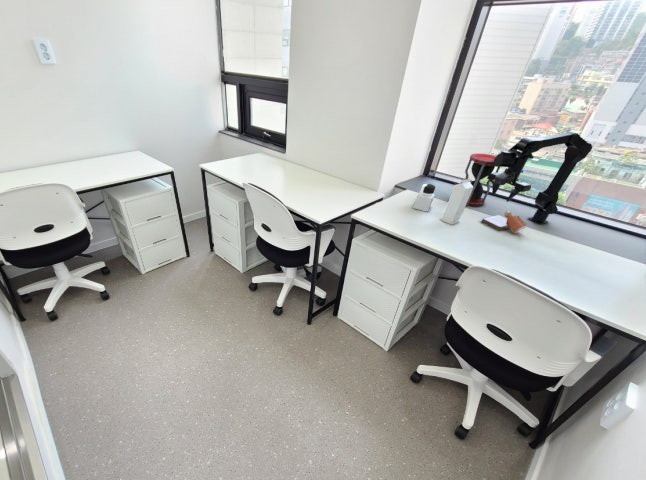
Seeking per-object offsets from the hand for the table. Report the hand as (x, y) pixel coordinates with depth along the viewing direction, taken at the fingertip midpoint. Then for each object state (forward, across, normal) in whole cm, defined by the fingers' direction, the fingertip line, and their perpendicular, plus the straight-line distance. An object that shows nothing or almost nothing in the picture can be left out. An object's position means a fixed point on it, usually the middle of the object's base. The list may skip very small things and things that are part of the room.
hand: (500, 198), depth 155 cm
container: (+13, -25, -23) cm, 36 cm away
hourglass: (+12, -22, +11) cm, 28 cm away
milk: (+13, -7, -21) cm, 25 cm away
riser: (+12, +5, 0) cm, 13 cm away
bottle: (+12, +11, 0) cm, 17 cm away
